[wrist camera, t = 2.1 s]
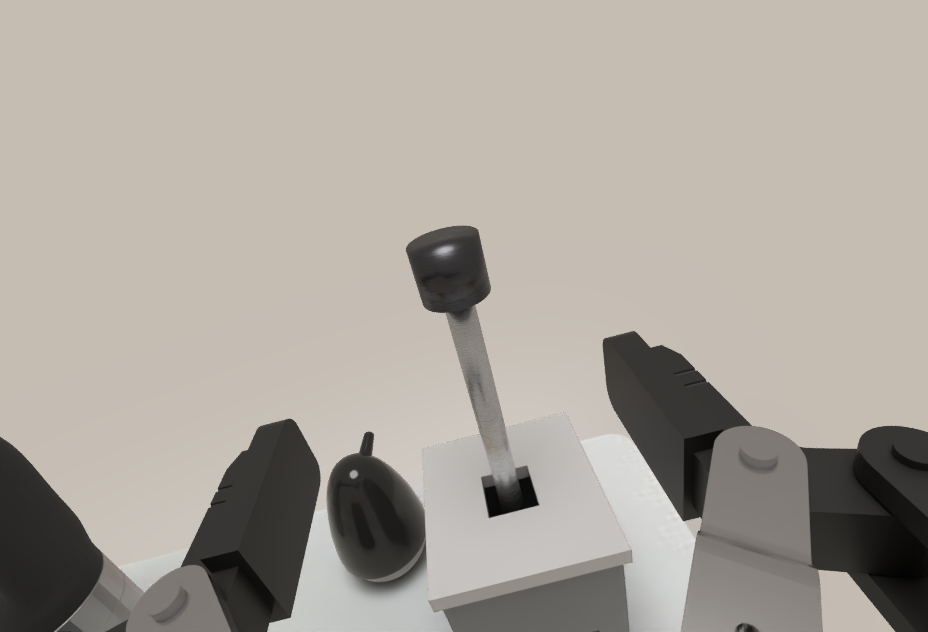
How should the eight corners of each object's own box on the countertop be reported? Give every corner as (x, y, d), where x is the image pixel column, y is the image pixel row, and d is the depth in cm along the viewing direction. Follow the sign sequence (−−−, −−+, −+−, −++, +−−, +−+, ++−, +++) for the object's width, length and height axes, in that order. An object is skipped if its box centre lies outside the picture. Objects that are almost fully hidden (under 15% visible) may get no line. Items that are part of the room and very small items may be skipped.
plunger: (491, 637, 32) (358, 293, 18) (477, 540, 38) (371, 235, 25) (595, 611, 32) (538, 246, 18) (562, 518, 38) (503, 201, 25)
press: (498, 745, 35) (428, 600, 25) (474, 573, 48) (421, 429, 37) (643, 709, 35) (631, 549, 25) (582, 546, 48) (557, 394, 37)
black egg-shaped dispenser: (444, 512, 55) (409, 422, 48) (424, 601, 46) (377, 507, 39) (369, 511, 58) (325, 426, 50) (337, 595, 49) (278, 507, 42)
